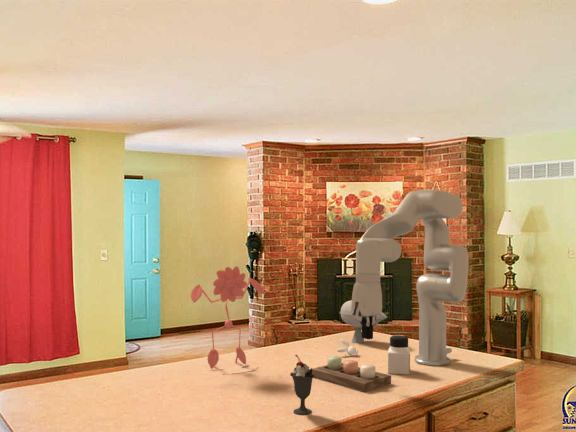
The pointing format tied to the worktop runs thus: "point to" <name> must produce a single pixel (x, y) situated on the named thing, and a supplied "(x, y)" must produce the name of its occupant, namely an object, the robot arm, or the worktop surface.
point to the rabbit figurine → (350, 349)
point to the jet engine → (350, 320)
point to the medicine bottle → (399, 355)
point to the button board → (351, 379)
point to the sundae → (302, 385)
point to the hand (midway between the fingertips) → (367, 338)
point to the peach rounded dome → (350, 367)
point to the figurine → (230, 289)
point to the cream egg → (367, 372)
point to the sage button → (334, 363)
